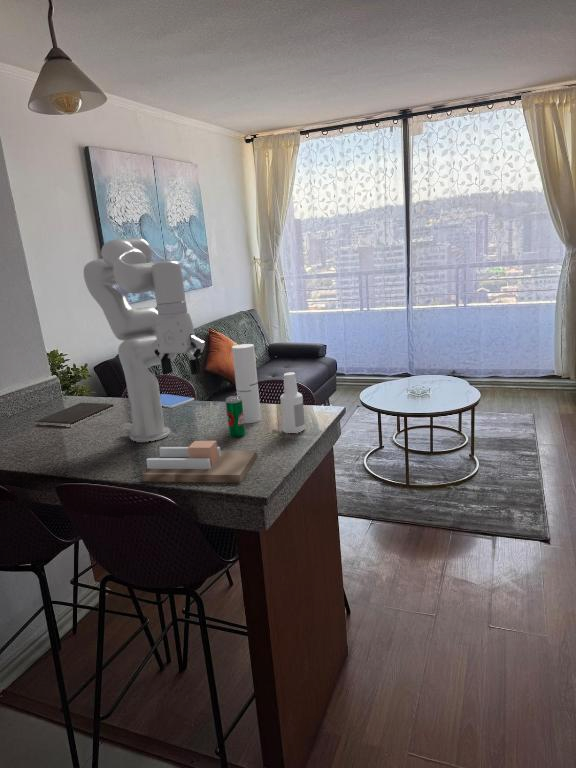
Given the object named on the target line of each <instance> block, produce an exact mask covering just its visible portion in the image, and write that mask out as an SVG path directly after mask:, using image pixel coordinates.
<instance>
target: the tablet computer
mask: <svg viewBox="0 0 576 768" xmlns="http://www.w3.org/2000/svg"><path fill="white" fill-rule="evenodd" d="M160 398H161V405H162V406H163V407H162V408H169V409H173V408H176V407H178V406H181V405H184V404H187V403H191V402H192V401H194V400H195V398H194V397H188V396H182V395H174V394H168V393H160Z"/></svg>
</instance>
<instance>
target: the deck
mask: <svg viewBox="0 0 576 768" xmlns="http://www.w3.org/2000/svg"><path fill="white" fill-rule="evenodd" d="M220 453H221V456H220V457H218V460H217V461H216V462H215V463H214V464H213V466H211V468H210V469H148V468H146V470H145V471H142V473H141V478H142V479H141V480H142V482H145V483H146V482H147V481H148V482H152V483H155V482H160V483H161V482H162V483H163V482H164V483H165V482H166V483H238V484H240V483H242V482H243V480H244V478H245V477H246V475H247V474H248V472H249V471H250V470H251V468H252V467H253V465H254V463H255V461H256V460H257V458H258V453H257V450H220ZM159 458H189V457H161V456H160V457H159ZM148 482H147V483H148Z"/></svg>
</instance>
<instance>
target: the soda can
mask: <svg viewBox="0 0 576 768" xmlns="http://www.w3.org/2000/svg"><path fill="white" fill-rule="evenodd" d="M225 409H226V419H227V427H228V436H230V437H231V438H233V439H234V438H235V439H236V438H242V437H244V436H245V434H246V425H245V424H246V423H244V413H243V404H242V400H241V397H240V396H237V395H233V396H228V397H226V399H225Z"/></svg>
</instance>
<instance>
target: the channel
mask: <svg viewBox="0 0 576 768" xmlns="http://www.w3.org/2000/svg"><path fill="white" fill-rule="evenodd" d="M188 447H189V446H161V447H159V449H158V450H159V455H160V457H189V453H188ZM217 451H218V457H220V456H221V453H220V451H221V447H220V446H217ZM160 457H150V458H149V457H147V458H146V467H147V469H210V468H211V464H210V458H160Z"/></svg>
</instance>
